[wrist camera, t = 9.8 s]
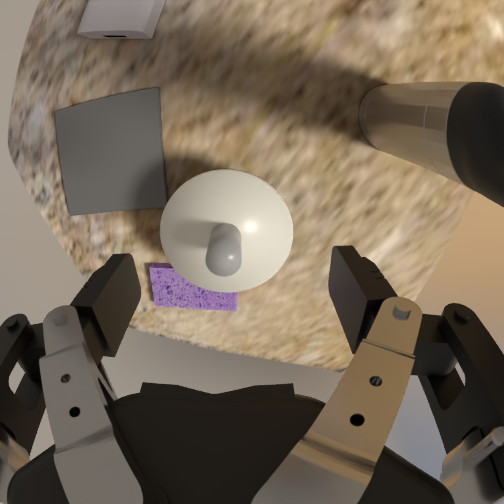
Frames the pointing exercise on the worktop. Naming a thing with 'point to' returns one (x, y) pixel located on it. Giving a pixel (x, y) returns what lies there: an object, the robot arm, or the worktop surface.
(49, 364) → the robot arm
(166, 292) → the sponges
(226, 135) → the worktop surface
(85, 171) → the mat
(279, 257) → the lid
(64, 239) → the worktop surface
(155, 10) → the charger
